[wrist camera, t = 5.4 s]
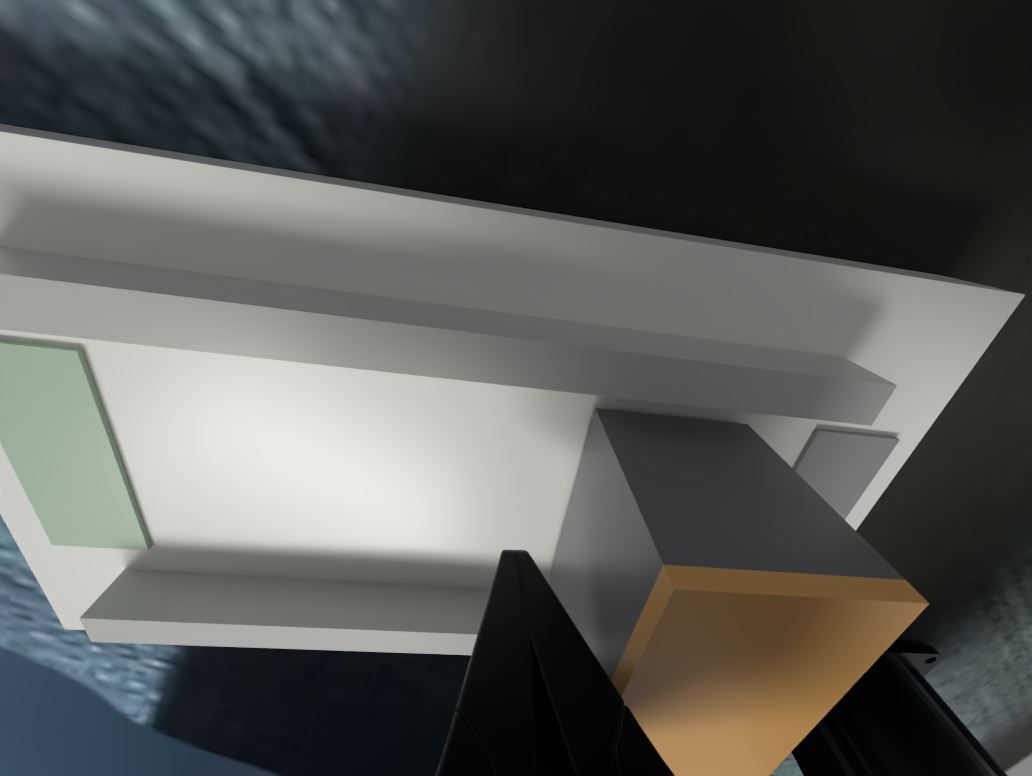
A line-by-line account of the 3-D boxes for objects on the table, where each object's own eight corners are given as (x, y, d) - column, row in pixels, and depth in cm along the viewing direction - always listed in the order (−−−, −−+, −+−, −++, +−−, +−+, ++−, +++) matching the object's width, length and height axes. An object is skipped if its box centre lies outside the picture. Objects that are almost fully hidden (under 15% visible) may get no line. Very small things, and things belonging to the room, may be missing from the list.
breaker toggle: (747, 424, 10) (929, 603, 6) (671, 582, 13) (760, 784, 9) (594, 407, 10) (673, 589, 6) (548, 575, 13) (578, 784, 8)
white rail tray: (940, 275, 11) (1113, 314, 8) (738, 606, 18) (790, 700, 14) (-83, 110, 8) (-414, 75, 5) (115, 574, 15) (16, 680, 12)
